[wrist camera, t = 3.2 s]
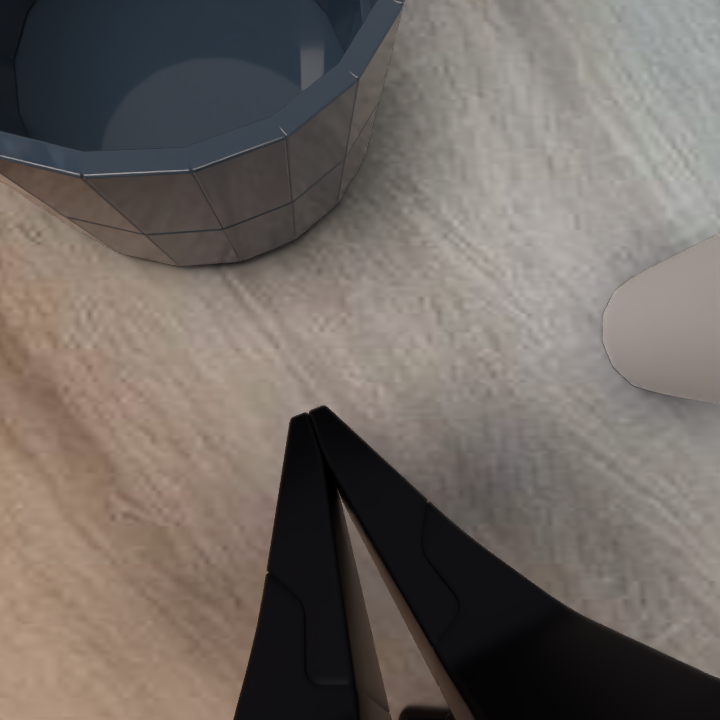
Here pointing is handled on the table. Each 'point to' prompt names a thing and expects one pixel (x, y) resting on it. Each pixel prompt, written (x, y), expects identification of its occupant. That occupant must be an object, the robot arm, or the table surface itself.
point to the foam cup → (670, 325)
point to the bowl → (190, 116)
